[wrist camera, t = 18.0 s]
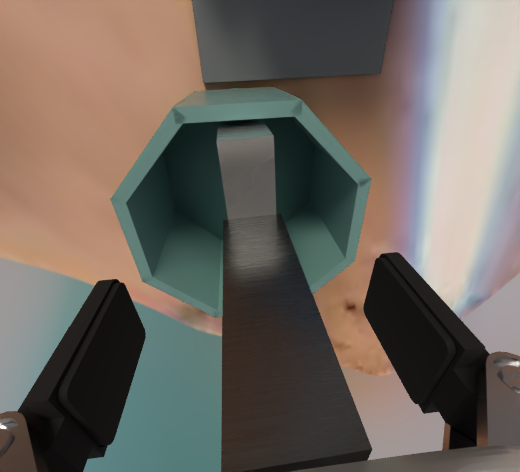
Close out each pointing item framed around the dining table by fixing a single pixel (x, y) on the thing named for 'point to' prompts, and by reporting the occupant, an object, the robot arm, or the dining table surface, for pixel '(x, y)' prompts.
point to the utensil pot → (213, 199)
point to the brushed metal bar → (274, 330)
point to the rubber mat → (290, 38)
